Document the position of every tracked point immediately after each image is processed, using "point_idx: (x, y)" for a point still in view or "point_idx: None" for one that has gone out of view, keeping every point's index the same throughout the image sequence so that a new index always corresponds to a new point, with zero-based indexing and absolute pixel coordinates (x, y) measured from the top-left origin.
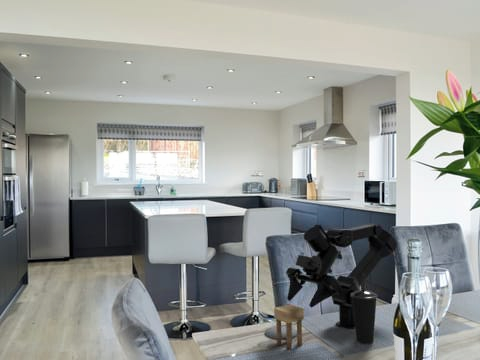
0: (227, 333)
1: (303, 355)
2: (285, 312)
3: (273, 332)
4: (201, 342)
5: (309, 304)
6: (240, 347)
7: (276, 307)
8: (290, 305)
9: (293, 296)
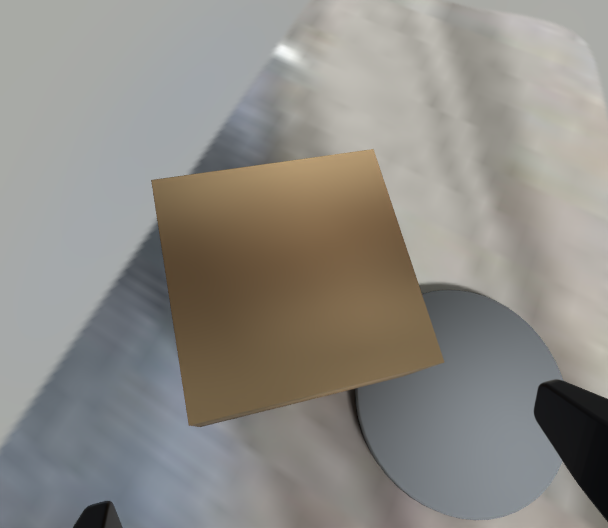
0: (548, 136)
1: (80, 331)
2: (196, 175)
3: (465, 339)
4: (471, 9)
5: (104, 508)
6: (350, 109)
7: (380, 176)
8: (390, 349)
9: (602, 504)
